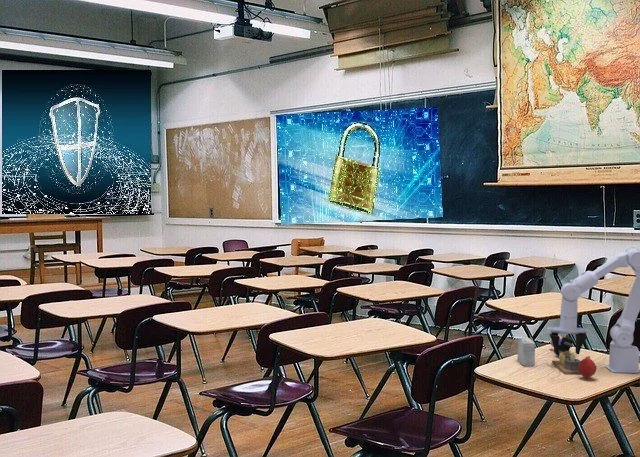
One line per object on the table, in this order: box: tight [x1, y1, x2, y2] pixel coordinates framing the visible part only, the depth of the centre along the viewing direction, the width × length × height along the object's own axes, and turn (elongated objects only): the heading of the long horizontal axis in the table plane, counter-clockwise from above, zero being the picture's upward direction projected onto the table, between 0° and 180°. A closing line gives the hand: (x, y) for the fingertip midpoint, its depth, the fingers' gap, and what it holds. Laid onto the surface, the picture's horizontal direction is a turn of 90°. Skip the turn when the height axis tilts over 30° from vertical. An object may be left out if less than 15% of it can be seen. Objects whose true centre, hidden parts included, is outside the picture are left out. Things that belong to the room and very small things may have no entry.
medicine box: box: [516, 337, 536, 367], centre depth 272 cm, size 8×4×9 cm, turn 179°
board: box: [551, 350, 582, 376], centre depth 266 cm, size 10×14×6 cm
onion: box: [578, 355, 597, 380], centre depth 254 cm, size 6×6×8 cm
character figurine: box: [549, 334, 574, 355], centre depth 286 cm, size 8×7×15 cm
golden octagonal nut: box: [558, 352, 576, 365], centre depth 269 cm, size 5×5×4 cm
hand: (566, 353), depth 269 cm, fingers open, 7 cm apart
